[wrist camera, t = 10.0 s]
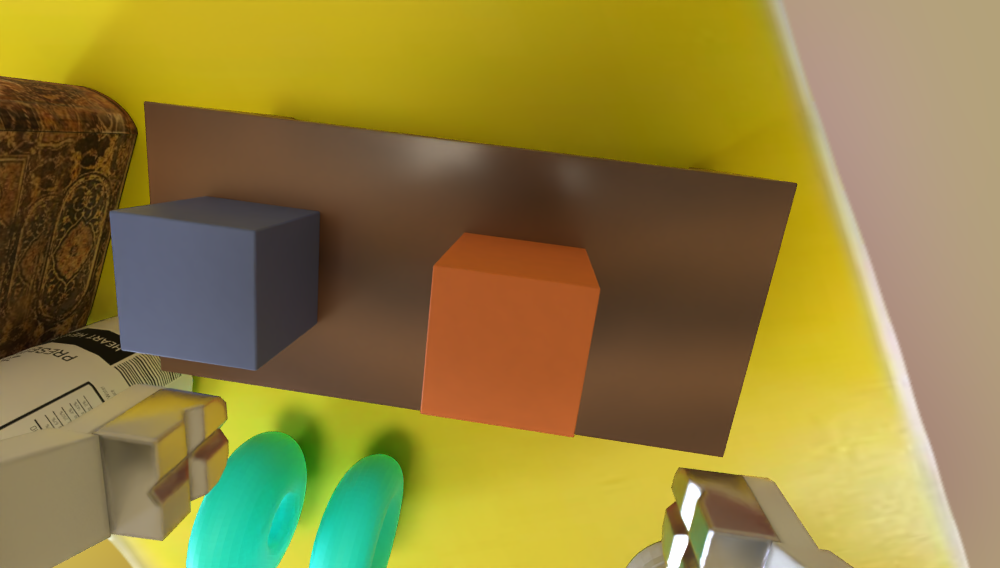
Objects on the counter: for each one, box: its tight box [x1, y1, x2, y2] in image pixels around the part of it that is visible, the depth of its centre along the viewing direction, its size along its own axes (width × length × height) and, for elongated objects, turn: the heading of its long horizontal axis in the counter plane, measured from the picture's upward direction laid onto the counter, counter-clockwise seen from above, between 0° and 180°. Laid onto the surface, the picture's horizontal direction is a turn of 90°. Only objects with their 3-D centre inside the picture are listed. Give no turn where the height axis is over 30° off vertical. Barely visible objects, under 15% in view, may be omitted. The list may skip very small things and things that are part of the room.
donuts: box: [186, 431, 404, 568], centre depth 32 cm, size 10×10×10 cm
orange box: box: [420, 233, 600, 437], centre depth 19 cm, size 5×5×6 cm
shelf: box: [144, 101, 797, 457], centre depth 27 cm, size 12×26×10 cm, turn 83°
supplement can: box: [0, 316, 193, 440], centre depth 29 cm, size 8×8×15 cm
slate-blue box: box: [109, 196, 320, 371], centre depth 20 cm, size 5×5×5 cm
